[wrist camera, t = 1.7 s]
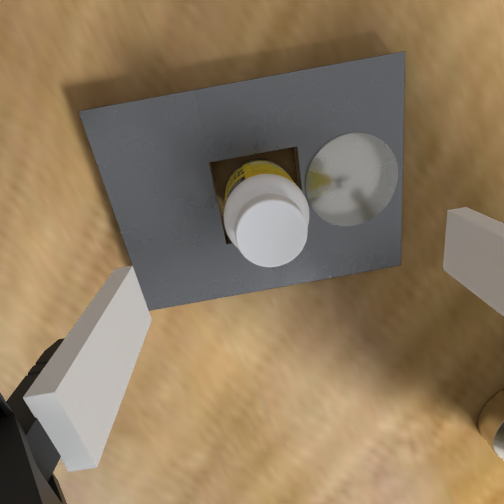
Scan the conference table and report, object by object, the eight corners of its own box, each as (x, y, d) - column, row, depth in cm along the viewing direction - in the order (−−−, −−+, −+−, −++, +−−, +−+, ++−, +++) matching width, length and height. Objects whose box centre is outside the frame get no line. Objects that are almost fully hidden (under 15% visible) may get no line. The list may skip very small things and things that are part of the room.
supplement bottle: (232, 150, 25) (235, 173, 17) (299, 167, 26) (336, 197, 17) (218, 216, 27) (213, 269, 19) (280, 229, 28) (305, 286, 19)
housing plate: (152, 299, 30) (147, 312, 28) (88, 111, 24) (76, 111, 22) (391, 256, 30) (402, 266, 28) (392, 55, 24) (407, 50, 22)
